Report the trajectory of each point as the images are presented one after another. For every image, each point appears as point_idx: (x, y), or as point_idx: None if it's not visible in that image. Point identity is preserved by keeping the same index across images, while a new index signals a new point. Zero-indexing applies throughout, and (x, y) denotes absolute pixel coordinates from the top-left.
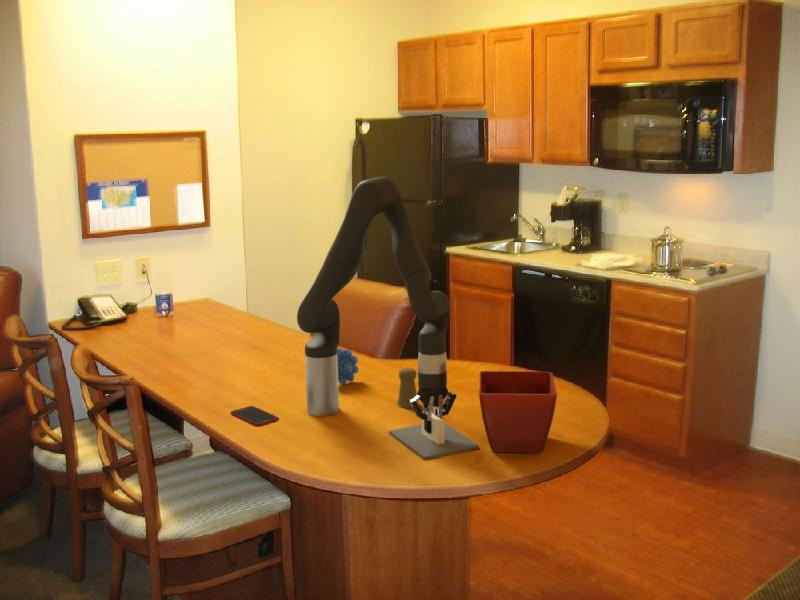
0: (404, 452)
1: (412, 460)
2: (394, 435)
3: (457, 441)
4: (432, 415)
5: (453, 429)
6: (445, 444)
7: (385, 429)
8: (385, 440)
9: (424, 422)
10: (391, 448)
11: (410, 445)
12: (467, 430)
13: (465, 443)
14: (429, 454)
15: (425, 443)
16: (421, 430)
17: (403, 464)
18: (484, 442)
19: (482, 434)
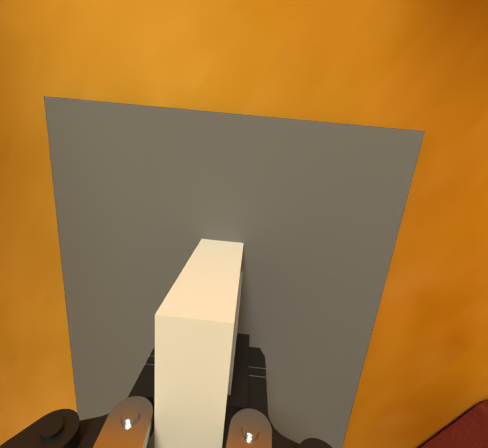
0: (47, 342)
1: (48, 412)
2: (54, 179)
3: (287, 407)
4: (197, 435)
5: (376, 291)
6: None
7: (64, 17)
8: (10, 179)
9: (136, 385)
10: (7, 280)
11: (76, 335)
12: (443, 301)
13: (301, 437)
14: None
15: (150, 353)
16: (198, 244)
17: (4, 419)
18: (391, 432)
19: (455, 372)
